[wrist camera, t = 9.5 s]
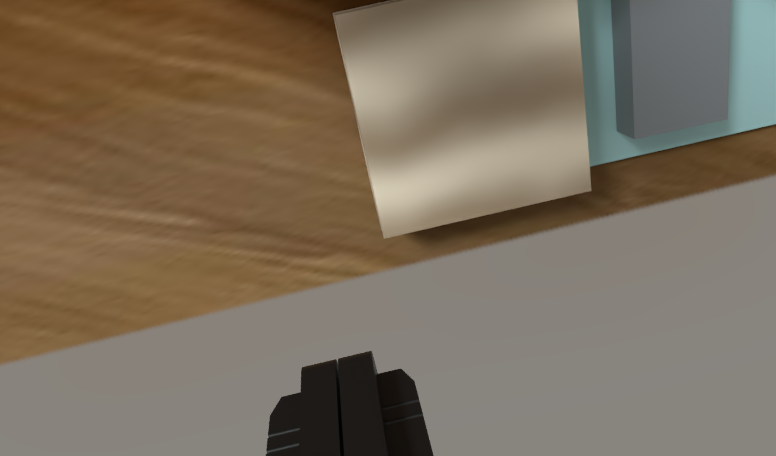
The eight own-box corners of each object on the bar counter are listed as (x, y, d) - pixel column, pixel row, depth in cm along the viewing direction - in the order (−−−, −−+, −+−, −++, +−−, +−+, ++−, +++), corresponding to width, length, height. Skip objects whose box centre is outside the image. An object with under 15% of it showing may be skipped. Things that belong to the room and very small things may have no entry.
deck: (332, 12, 35) (334, 15, 32) (547, -35, 36) (574, -37, 32) (377, 215, 40) (384, 238, 37) (566, 172, 41) (591, 190, 37)
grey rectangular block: (731, -37, 34) (706, -35, 36) (629, -15, 34) (610, -15, 36) (727, 119, 38) (704, 112, 40) (634, 139, 37) (616, 131, 40)
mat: (555, -40, 36) (557, -40, 35) (781, -89, 36) (786, -90, 36) (573, 168, 41) (575, 169, 40) (772, 122, 41) (776, 123, 41)
